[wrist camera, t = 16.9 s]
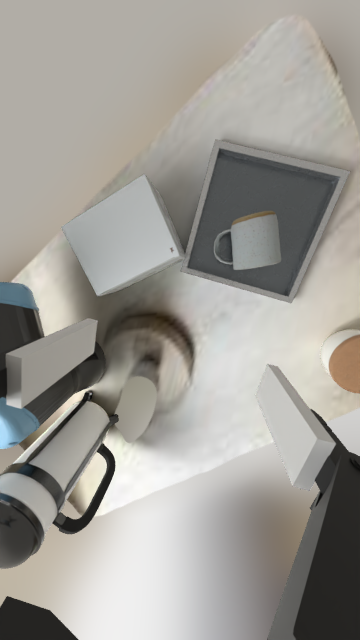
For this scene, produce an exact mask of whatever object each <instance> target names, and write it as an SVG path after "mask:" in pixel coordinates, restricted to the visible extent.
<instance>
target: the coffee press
mask: <svg viewBox="0 0 360 640" xmlns="http://www.w3.org/2000/svg"><path fill="white" fill-rule="evenodd" d="M92 395H93V393H92V392H86V393H85V395H84V397H83V399H82V401H80V402H77V403H75V404H73V405H72V406H71V407H70V408H68V409H67V410H66V411H65V412H64V413H63V414H62V415H61V416H60V417H59V418H58V419H57V420H56V421H55V422H54V423H53V424H52V425H51V426H50V427H49V428H48V429H47V430H46V431H45V432H44V433H43V434H42V435H41V436H40V437H39V438H38V439H37V440H36V441H35V442H34V443H33V444H32V445H31V446H30V447H29V448H28V449H27V450H26V451H25V452H24V453H23V454H22V455H21V456H20V457H19V458H18V459H17V460H16V461H15V462H14V463H13V464H12V465H10V466H8V467H7V468H6V469H5V470H4V471H3V472H2V473H1V474H0V568H2V569H5V568H12V567H15V566H18V565H20V564H22V563H23V562H25V561H26V560H27V559H28V558H29V557H30V556H31V555H33V554H35V553H36V552H37V551H38V550H39V548H40V546H41V545H42V543H43V541H44V537H45V534H46V532H47V531H48V529H49V527H50V526H51V524H52V523H53V524H54V525H55V526H57V527H58V528H59V531H61V532H63V533H65V534H75V533H77V532H79V531H80V530H82V529H83V528H84V527H86V526H87V525H88V524H89V522H90V521H91V520H92V518H93V517H94V515H95V513H96V511H97V509H98V508H99V505H100V503H101V501H102V499H103V497H104V495H105V493H106V491H107V489H108V486H109V484H110V482H111V480H112V477H113V475H114V471H115V459H114V456H113V454H112V453H111V451H110V450H109V449H108V448H107V447H106V446H105V445H104V444H103V442H104V440H105V437H106V435H107V433H108V431H109V428H110V427H111V426H112V425H113V424H115V423H116V422H118V420H119V419H118V415H117V414H115V415H112V416H110V417H108V415H107V413H106V412H105V411H104V409H103V408H101V407H100V406H99V405H97V404H95V403H93V402H91V399H92ZM101 443H102V444H101ZM96 452H98V453H100V454H101V455H102V456H103V457H104V458H105V460H106V462H107V470H106V473H105V475H104V477H103V479H102V481H101V483H100V485H99V487H98V489H97V491H96V493H95V495H94V497H93V499H92V501H91V503H90V505H89V507H88V508H87V510H86V512H85V513H84V515H83V516H82V517H81V518H79V519H76V520H75V519H71V518H69V517H66V516H65V515H63V514H62V513H61V511H62V509H63V507H64V504H65V502H66V500H67V498H68V497H69V495H70V493H71V492H72V490H73V489H74V487H75V485H76V484H77V482H78V481H79V479H80V477H81V476H82V474H83V473H84V471H85V469H86V468H87V466H88V464H89V463H90V461H91V460H92V458H93V456H94V455H95V453H96Z"/></svg>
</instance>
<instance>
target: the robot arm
mask: <svg viewBox="0 0 360 640" xmlns="http://www.w3.org/2000/svg"><path fill="white" fill-rule="evenodd" d="M38 311H39V308H38V307H37V306H36V303H35V300H34V297H33V293H32V291H31V290H30V289H29V288H28V287H27V286H25V285H23V284H19V283H9V282H0V449H5V448H10V447H13V446H15V445H17V444H19V443H20V442H21V441H22V440H24V439H25V438H26V437H27V436H29V435H30V434H31V433H32V432H34V431H36V430H37V429H38V428H39V426H40V425H42V424H43V423H44V422H45V421H46V420H47V419H48V418H49V417H50V416H51V415H52V414H53V413H54V412H55V411H56V410H57V409H58V408H59V407H60V406H62V405H63V404H64V403H65V402H66V401H67V400H68V399H69V398H70V397H71V396H72V395H73V394H75V393H77V392H79V391H81V390H83V389H87V388H89V387H91V386H93V385H94V384H95V383H97V382H98V380H99V379H100V378H101V377H102V376H103V374H104V371H105V367H106V361H105V356H104V353H103V351H102V349H101V347H100V346H99V344H98V343H97V342H96V341H95V339H96V330H97V322H98V320H94V319H90V318H87V319H85V320H83V321H80V322H78V323H76V324H73V325H71V326H69V327H66V328H64V329H62V330H60V331H57V332H55V333H53V334H50V335H48V336H46V337H45V336H44V332H43V328H42V324H41V320H40V316H39V312H38ZM255 396H256V398H257V401H258V403H259V406H260V408H261V411H262V413H263V416H264V418H265V420H266V423H267V425H268V428H269V430H270V433H271V435H272V438H273V440H274V442H275V445H276V447H277V450H278V452H279V455H280V457H281V460H282V462H283V464H284V467H285V469H286V472H287V474H288V476H289V479H290V482H291V484H292V486H294V487H297V488H300V489H304V490H308V491H310V489H311V487H312V486H313V484H314V482H315V481H316V483H317V485H318V487H319V489H320V492H319V494H318V495H317V497H316V499H315V500H314V502H313V504H312V505H311V507H310V509H311V510H312V512H311V514H310V517H309V520H308V523H307V526H306V529H305V532H304V535H303V537H302V540H301V543H300V546H299V549H298V552H297V555H296V557H295V561H294V564H293V566H292V569H291V572H290V575H289V578H288V580H287V583H286V586H285V589H284V592H283V595H282V598H281V601H280V603H279V606H278V609H277V612H276V615H275V618H274V621H273V624H272V626H271V630H270V632H269V635H268V638H267V640H360V456H358V455H356V454H354V453H351V452H349V451H348V450H347V449H346V448H345V446H344V445H343V444H342V443H341V441H340V440H339V439H338V438H337V436H336V435H335V434H334V433H333V432H332V430H331V429H330V428H329V427H328V426H327V424H326V422H325V421H324V420H323V419H322V417H321V416H319V415H318V414H317V413H316V412H315V411H314V410H312V409H309V407H308V406H307V405H306V403H305V402H304V401H303V399H302V398H301V397H300V395H299V394H298V393H297V391H296V390H295V389H294V387H293V386H292V385H291V384H290V382H289V381H288V380H287V378H286V377H285V376H284V374H283V373H282V372H281V370H280V369H279V368H278V367H277V366H273V365H269V364H267V366H266V369H265V372H264V374H263V377H262V379H261V382H260V384H259V387H258V390H257V392H256V395H255ZM0 640H78V639H77V638H76V637H75V636H74V635H73V634H72V633H71V632H70V630H69V629H68V628H66V627H65V625H64V624H63V623H62V622H61V621H60V620H59V619H58V618H57V617H56V616H55V615H54V614H53V613H52V612H51V611H50V610H47V609H44V608H41V607H38V606H35V605H32V604H29V603H26V602H23V601H20V600H17V599H14V598H11V597H8V596H7V597H6V599H5V600H4V602H3V604H2V605H1V607H0Z"/></svg>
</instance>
